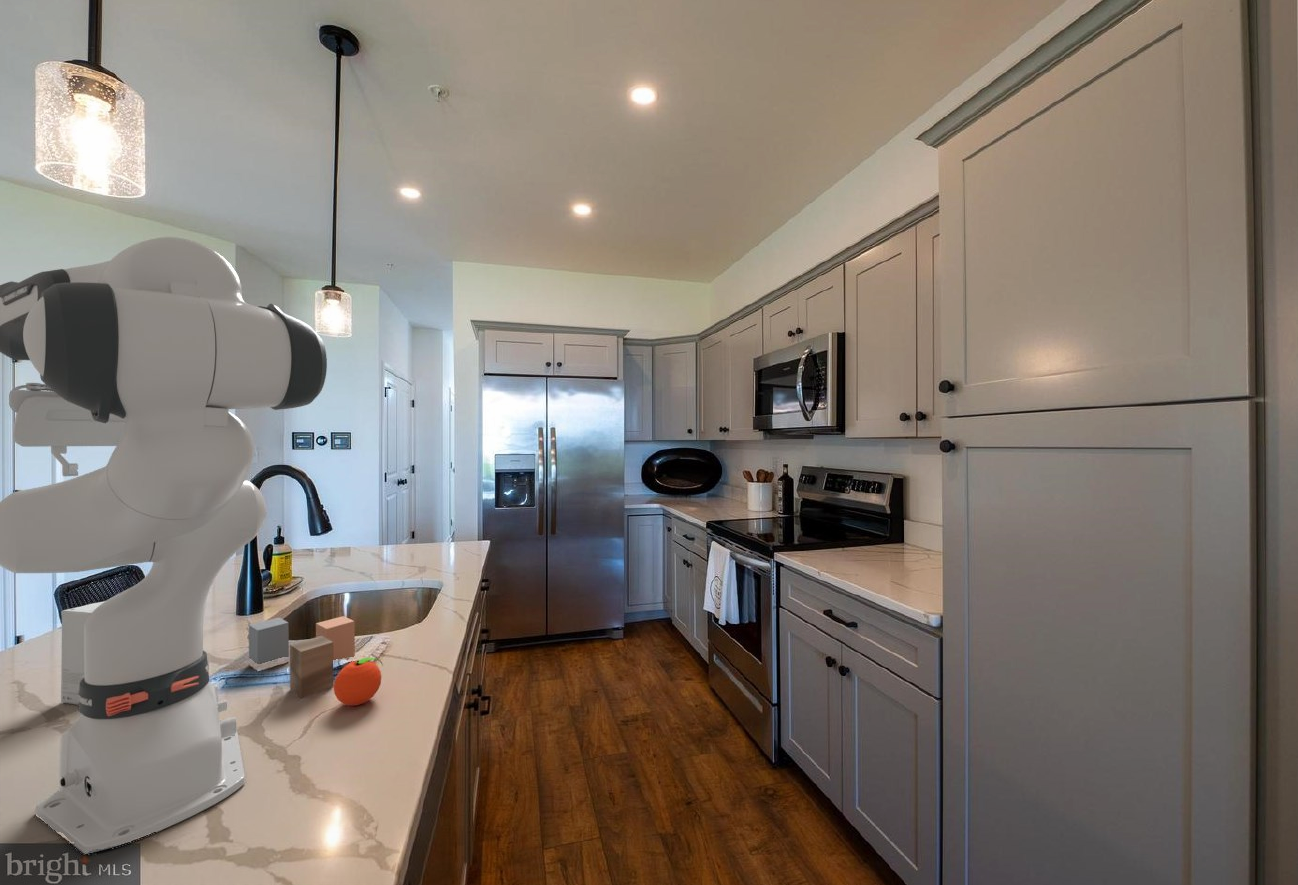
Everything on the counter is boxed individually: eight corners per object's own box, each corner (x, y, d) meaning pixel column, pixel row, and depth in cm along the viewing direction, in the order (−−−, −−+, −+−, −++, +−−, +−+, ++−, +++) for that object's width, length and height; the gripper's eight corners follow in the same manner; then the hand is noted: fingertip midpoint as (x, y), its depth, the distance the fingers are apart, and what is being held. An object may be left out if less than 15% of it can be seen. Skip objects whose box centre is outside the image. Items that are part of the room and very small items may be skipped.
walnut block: (333, 686, 89) (333, 641, 89) (301, 698, 85) (301, 651, 85) (321, 678, 92) (321, 635, 92) (290, 689, 88) (289, 644, 88)
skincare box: (87, 707, 82) (86, 613, 82) (57, 703, 84) (56, 611, 83) (147, 683, 90) (146, 597, 90) (119, 679, 92) (118, 595, 92)
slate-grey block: (288, 662, 99) (288, 622, 99) (257, 672, 95) (257, 630, 95) (279, 656, 102) (279, 617, 102) (249, 665, 98) (248, 624, 97)
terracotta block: (354, 660, 99) (354, 621, 99) (326, 670, 95) (326, 628, 95) (343, 654, 102) (343, 616, 102) (316, 663, 98) (315, 623, 98)
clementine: (370, 686, 89) (370, 646, 89) (396, 694, 86) (396, 653, 86) (324, 708, 82) (324, 664, 82) (351, 718, 79) (350, 673, 79)
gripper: (10, 381, 68) (10, 481, 69) (205, 393, 85) (203, 473, 86) (8, 380, 72) (8, 475, 73) (195, 391, 88) (193, 468, 89)
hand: (115, 474), depth 79 cm, fingers open, 8 cm apart
